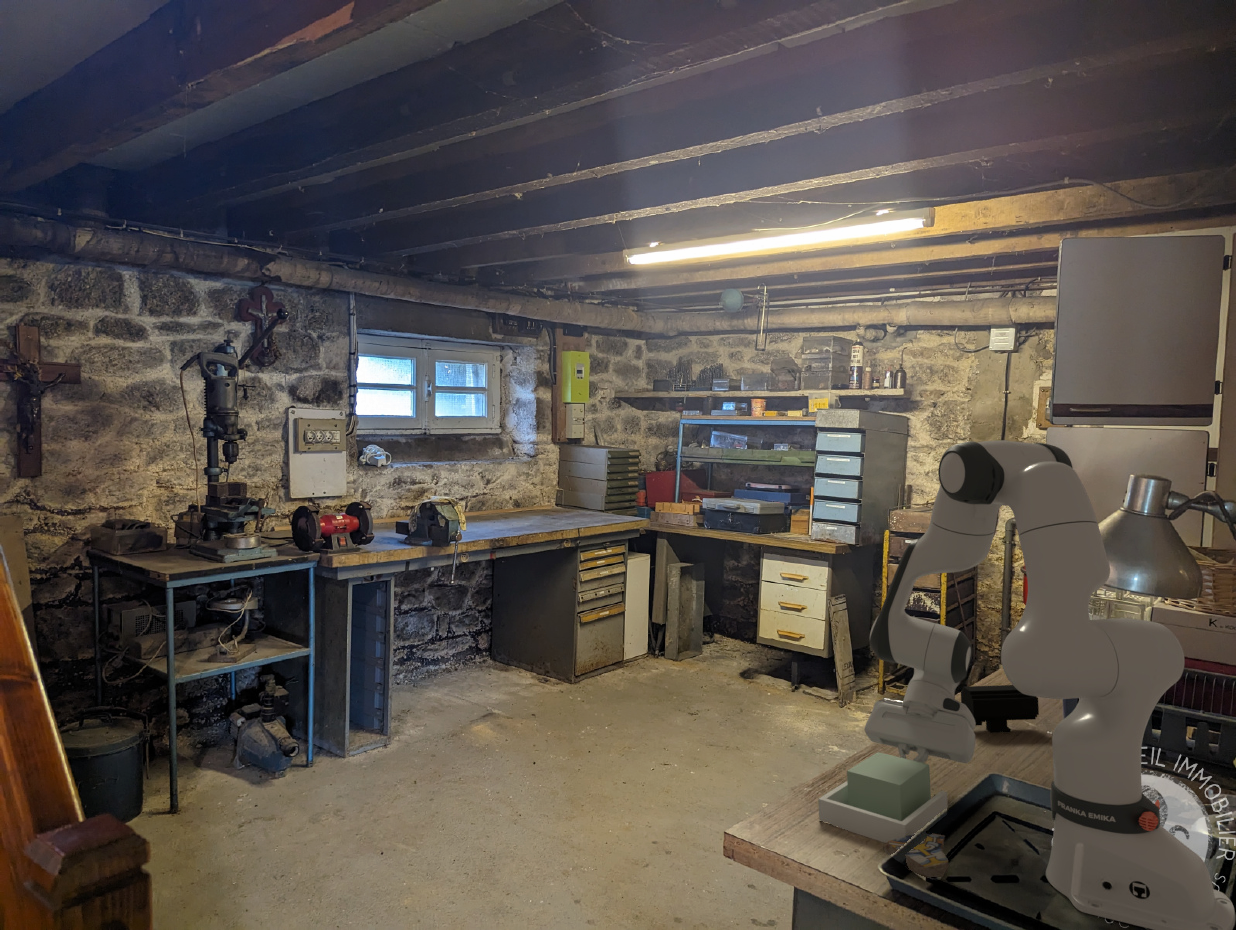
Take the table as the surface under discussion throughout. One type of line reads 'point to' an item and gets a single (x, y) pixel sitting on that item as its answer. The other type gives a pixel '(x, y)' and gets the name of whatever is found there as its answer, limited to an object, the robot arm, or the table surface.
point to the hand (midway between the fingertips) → (907, 770)
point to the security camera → (999, 706)
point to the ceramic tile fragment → (923, 855)
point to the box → (876, 816)
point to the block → (889, 785)
